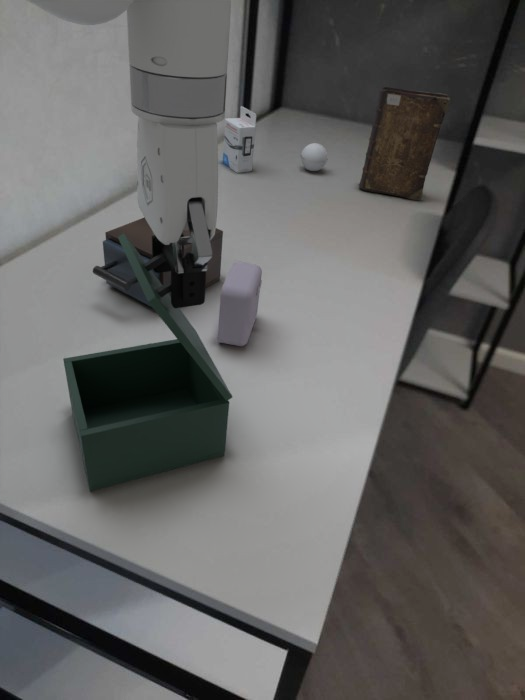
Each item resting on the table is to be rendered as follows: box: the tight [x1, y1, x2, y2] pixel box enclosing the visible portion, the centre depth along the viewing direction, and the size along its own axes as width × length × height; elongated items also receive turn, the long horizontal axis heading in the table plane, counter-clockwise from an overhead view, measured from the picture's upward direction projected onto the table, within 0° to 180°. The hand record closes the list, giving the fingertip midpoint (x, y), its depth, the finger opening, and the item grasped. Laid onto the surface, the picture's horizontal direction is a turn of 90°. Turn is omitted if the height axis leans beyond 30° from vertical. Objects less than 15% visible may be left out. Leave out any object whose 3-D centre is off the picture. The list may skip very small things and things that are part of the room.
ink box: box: [222, 105, 257, 174], centre depth 138 cm, size 8×5×15 cm, turn 32°
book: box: [358, 86, 451, 201], centre depth 132 cm, size 17×7×25 cm, turn 75°
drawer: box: [92, 239, 160, 309], centre depth 86 cm, size 18×11×8 cm, turn 145°
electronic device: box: [217, 260, 263, 347], centre depth 80 cm, size 10×5×10 cm, turn 170°
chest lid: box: [118, 234, 233, 401], centre depth 55 cm, size 16×13×5 cm
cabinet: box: [104, 216, 224, 296], centre depth 89 cm, size 15×13×10 cm
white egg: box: [300, 142, 328, 172], centre depth 144 cm, size 10×7×7 cm
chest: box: [63, 338, 230, 492], centre depth 61 cm, size 16×13×9 cm
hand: (177, 285), depth 52 cm, fingers closed on chest lid, 6 cm apart
